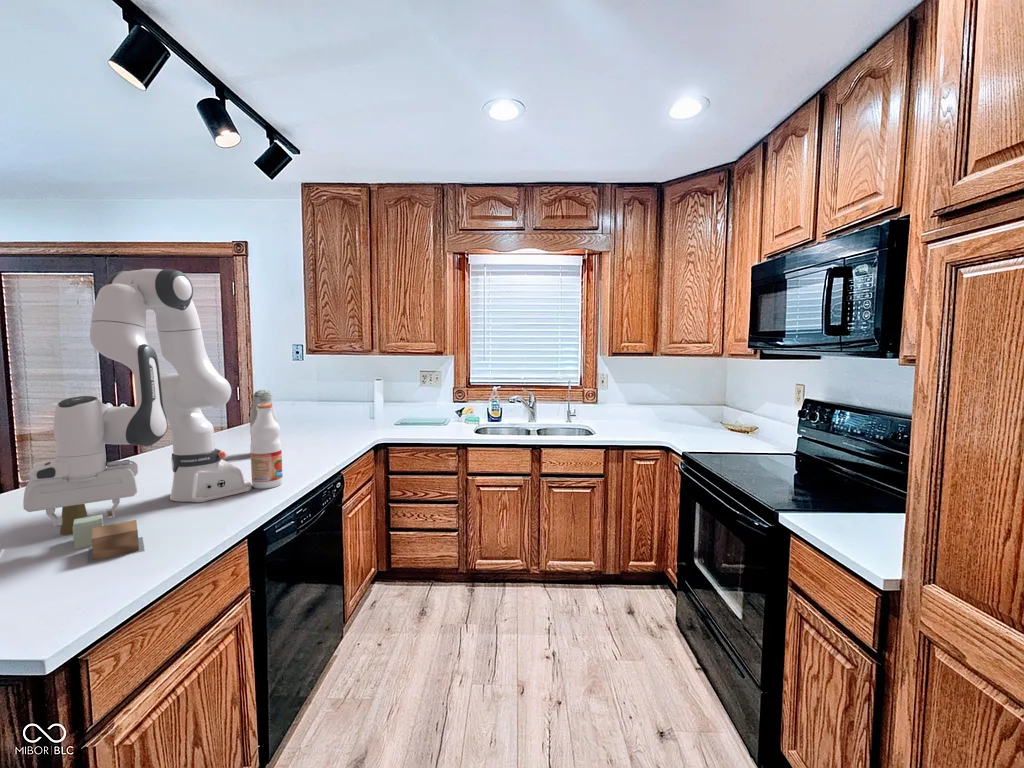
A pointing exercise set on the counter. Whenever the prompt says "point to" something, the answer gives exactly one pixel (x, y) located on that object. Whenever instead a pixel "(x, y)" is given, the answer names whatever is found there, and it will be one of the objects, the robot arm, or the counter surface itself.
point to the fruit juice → (265, 449)
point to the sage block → (85, 530)
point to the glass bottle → (261, 398)
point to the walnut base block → (114, 539)
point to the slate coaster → (141, 548)
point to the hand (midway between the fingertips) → (85, 521)
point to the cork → (71, 517)
